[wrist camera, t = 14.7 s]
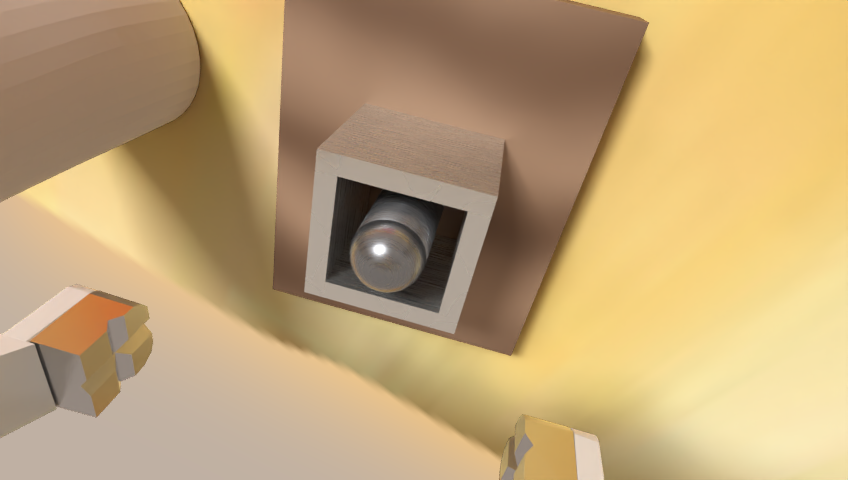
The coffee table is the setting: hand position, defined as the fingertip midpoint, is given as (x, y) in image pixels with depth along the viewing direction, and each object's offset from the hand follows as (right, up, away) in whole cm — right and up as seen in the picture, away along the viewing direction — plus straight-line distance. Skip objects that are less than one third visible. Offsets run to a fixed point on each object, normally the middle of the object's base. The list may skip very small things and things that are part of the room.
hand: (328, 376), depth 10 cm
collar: (+2, +5, +9) cm, 11 cm away
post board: (+2, +6, +11) cm, 12 cm away
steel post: (+2, +5, +9) cm, 11 cm away
